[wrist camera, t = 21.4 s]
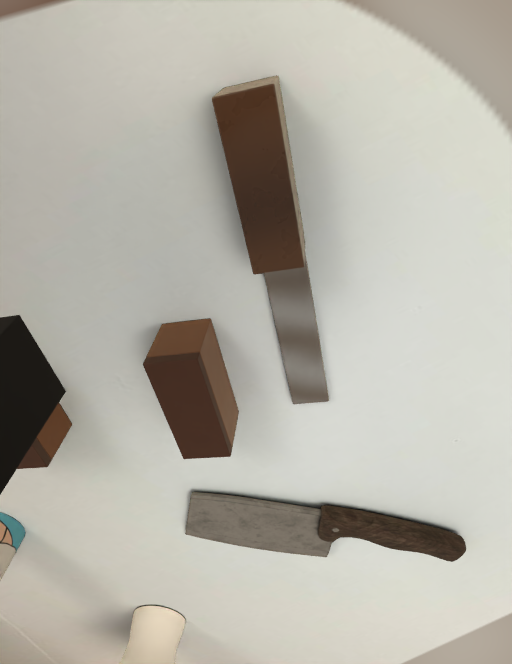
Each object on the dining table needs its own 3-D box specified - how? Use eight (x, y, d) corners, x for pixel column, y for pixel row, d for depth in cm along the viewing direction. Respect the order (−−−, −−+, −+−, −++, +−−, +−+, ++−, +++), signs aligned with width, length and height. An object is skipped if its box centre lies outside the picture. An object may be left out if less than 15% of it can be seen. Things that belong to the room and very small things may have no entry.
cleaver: (470, 518, 45) (476, 538, 43) (443, 567, 51) (447, 587, 49) (182, 483, 47) (176, 501, 45) (186, 535, 53) (182, 552, 51)
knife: (222, 88, 25) (210, 97, 22) (278, 74, 25) (274, 83, 22) (292, 399, 38) (290, 431, 35) (329, 396, 38) (331, 428, 35)
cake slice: (161, 323, 35) (142, 364, 31) (210, 318, 34) (197, 358, 30) (196, 414, 41) (183, 459, 37) (238, 411, 40) (230, 456, 36)
